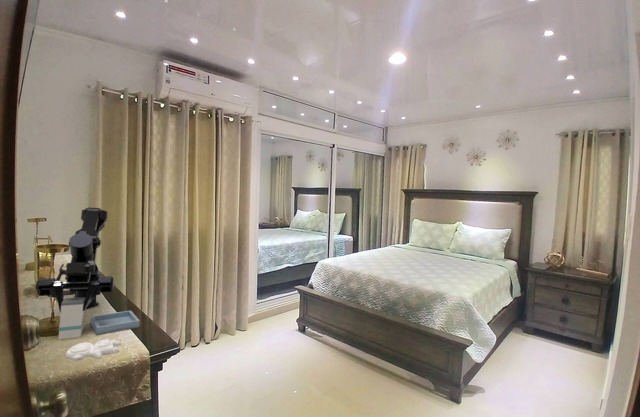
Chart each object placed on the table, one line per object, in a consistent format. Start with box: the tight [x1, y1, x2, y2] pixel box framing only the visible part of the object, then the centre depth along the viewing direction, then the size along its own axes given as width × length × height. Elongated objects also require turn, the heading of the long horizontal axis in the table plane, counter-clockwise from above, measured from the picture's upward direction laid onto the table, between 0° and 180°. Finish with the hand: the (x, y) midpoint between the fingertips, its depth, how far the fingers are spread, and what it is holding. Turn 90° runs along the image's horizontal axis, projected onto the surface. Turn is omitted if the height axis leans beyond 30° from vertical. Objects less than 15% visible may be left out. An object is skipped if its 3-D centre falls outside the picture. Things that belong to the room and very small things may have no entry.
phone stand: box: [47, 263, 75, 297], centre depth 129 cm, size 9×6×12 cm, turn 125°
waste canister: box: [58, 297, 85, 341], centre depth 93 cm, size 5×5×10 cm
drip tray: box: [89, 310, 141, 336], centre depth 102 cm, size 12×12×2 cm
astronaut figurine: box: [65, 337, 122, 361], centre depth 85 cm, size 9×12×3 cm
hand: (72, 311), depth 92 cm, fingers closed on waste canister, 5 cm apart
